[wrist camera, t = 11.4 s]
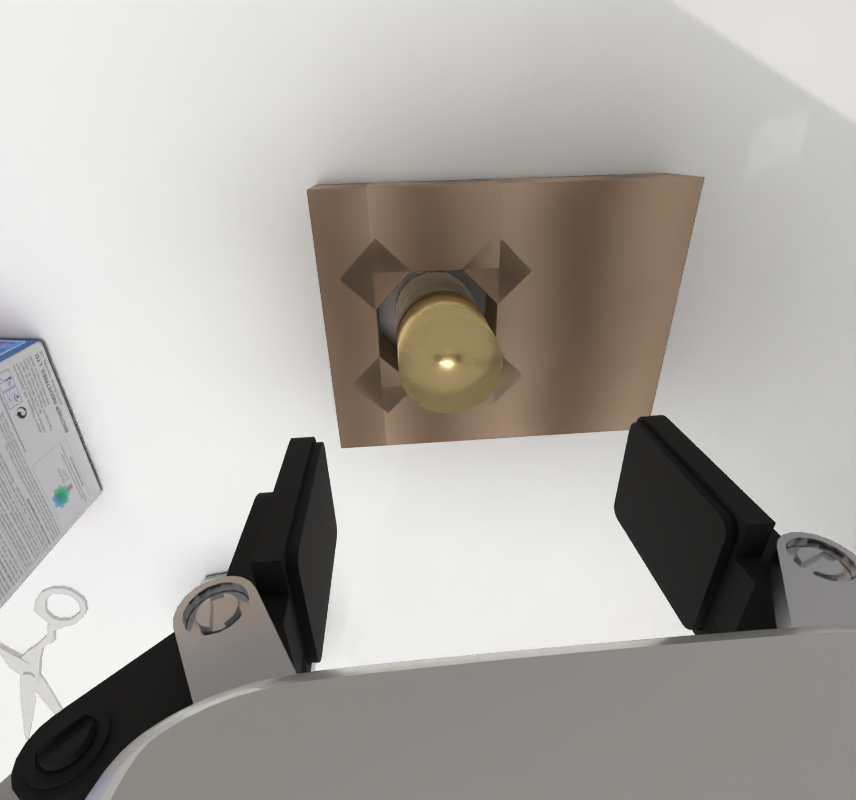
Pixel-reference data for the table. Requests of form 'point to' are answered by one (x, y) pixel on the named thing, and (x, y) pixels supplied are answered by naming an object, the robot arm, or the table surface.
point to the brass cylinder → (445, 345)
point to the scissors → (40, 656)
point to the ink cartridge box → (36, 463)
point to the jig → (508, 296)
